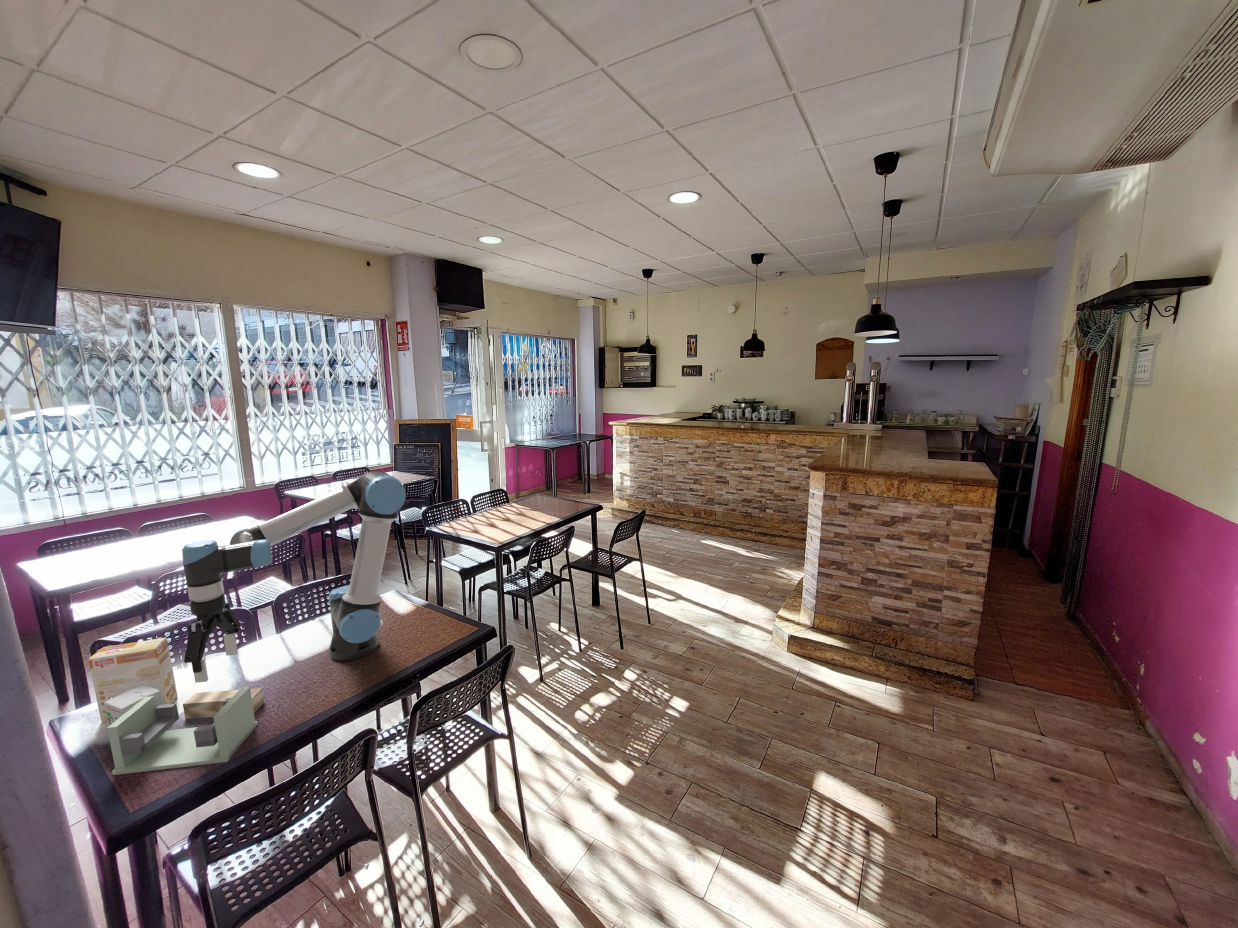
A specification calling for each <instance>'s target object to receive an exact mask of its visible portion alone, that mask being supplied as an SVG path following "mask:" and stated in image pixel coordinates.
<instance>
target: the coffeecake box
mask: <svg viewBox="0 0 1238 928" xmlns="http://www.w3.org/2000/svg"><path fill="white" fill-rule="evenodd" d="M170 654H171V653H170V648H169V643H168V637H161V638H154V639H147V640H142V641H137V642H129V643H122V644H117V645H109V646H102V648H100V649H99V650H97V652H95V653H94V654H92V655H91V656H90V657H89V658H88V659H87V660H88V661H87V662H88V665H89V670H90V674H91V675H90V676H91V680H92V683H93V689H94V693H95V698H96V702H97V707H98V712H99V717H100V718H99V719H100V721H101V723H106V722H108V721H107V716H106V711H105V706H104V702H105V701H107V700H109V699H111V698H114V697H116V696H118V695H120V694H122V693H125V692H127V691H129V690H131V689H133V688H135V687H137V686H139V685H145V686H148V687H151V688H154V689H157V690H160V693H161V698H162V703H163V705H164V704H174V703H175V700H176V699H177V698H178V691H177V687H176V685H177V684H176V680H175V675H174V669H173V664H172V663H173V662H172V659H171V658H172V657H171V655H170Z"/></svg>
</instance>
